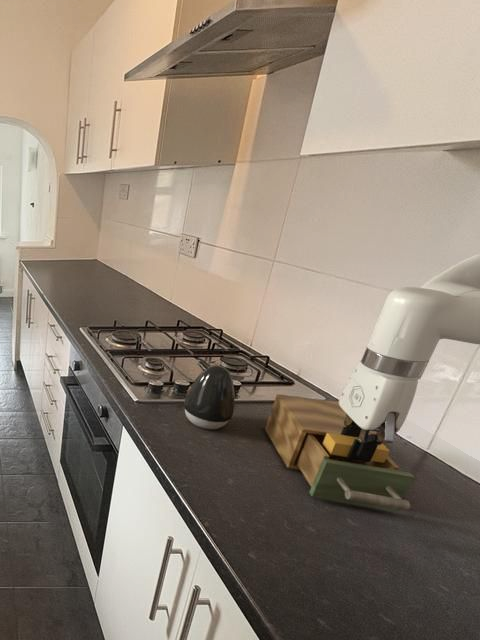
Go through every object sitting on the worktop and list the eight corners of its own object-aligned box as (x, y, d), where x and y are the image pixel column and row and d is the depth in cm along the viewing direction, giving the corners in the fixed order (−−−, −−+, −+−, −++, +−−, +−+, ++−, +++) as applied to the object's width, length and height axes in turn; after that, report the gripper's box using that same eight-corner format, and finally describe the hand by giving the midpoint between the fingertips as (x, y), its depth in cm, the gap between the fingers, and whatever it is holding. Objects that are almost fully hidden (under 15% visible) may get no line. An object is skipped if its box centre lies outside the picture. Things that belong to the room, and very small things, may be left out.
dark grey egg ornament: (201, 408, 106) (215, 354, 100) (238, 430, 97) (256, 372, 91) (170, 415, 103) (183, 360, 97) (205, 439, 94) (221, 379, 88)
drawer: (413, 534, 68) (435, 497, 65) (323, 516, 71) (340, 480, 68) (356, 464, 84) (370, 432, 81) (285, 453, 88) (296, 422, 85)
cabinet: (368, 482, 81) (388, 441, 77) (287, 468, 85) (302, 428, 81) (334, 440, 93) (349, 403, 90) (264, 429, 97) (276, 393, 93)
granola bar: (373, 451, 77) (379, 440, 76) (384, 462, 74) (390, 450, 73) (322, 443, 79) (326, 432, 78) (330, 454, 76) (335, 442, 75)
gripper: (341, 342, 77) (309, 425, 84) (394, 381, 63) (350, 477, 70) (391, 347, 75) (354, 432, 82) (457, 388, 61) (405, 487, 68)
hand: (352, 452), depth 76 cm, fingers closed on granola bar, 3 cm apart
